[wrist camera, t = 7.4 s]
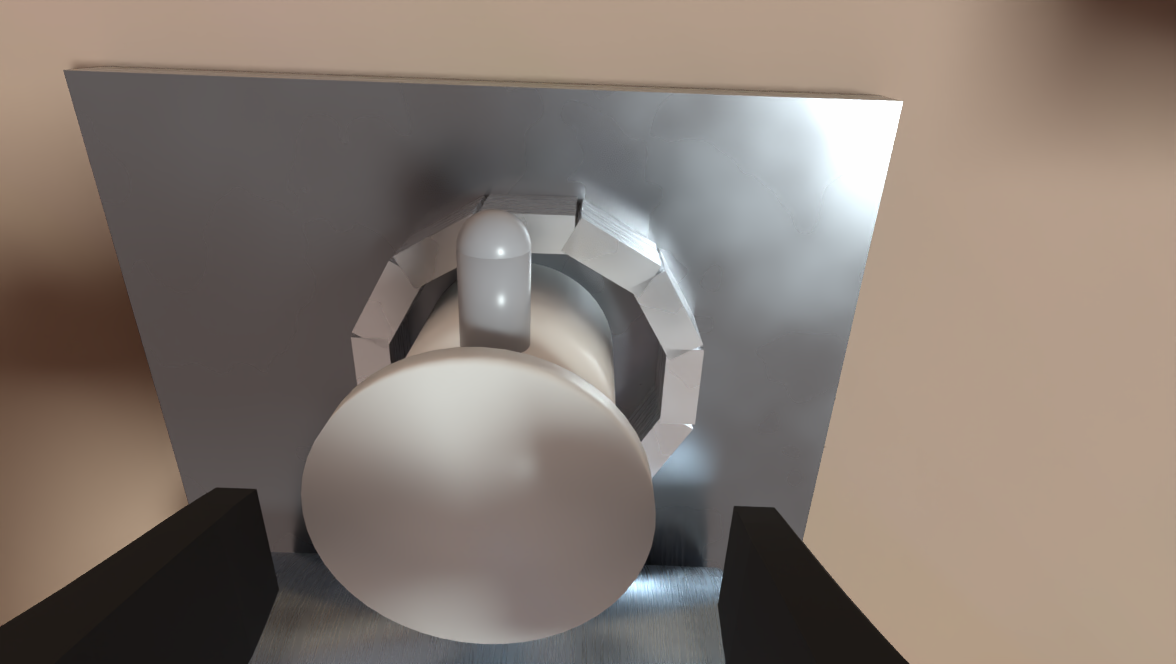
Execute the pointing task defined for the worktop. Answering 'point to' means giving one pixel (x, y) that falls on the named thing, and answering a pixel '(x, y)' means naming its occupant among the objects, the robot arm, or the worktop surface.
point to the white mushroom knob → (487, 460)
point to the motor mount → (429, 267)
